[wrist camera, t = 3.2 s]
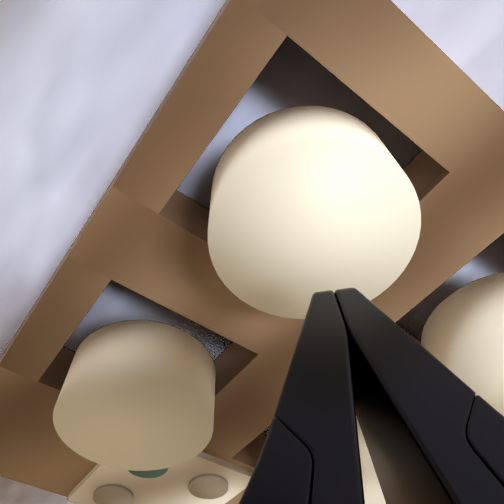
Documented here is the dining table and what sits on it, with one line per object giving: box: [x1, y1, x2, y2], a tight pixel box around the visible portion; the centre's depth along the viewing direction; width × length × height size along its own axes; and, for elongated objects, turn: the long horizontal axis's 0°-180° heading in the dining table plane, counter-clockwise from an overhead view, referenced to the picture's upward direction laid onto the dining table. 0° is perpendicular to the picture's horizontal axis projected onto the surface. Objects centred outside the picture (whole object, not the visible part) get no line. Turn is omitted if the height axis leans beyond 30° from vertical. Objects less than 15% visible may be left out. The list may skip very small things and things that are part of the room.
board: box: [0, 0, 504, 504], centre depth 19 cm, size 18×24×2 cm
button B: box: [208, 105, 421, 319], centre depth 12 cm, size 5×5×2 cm
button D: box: [53, 320, 216, 471], centre depth 16 cm, size 5×5×2 cm
